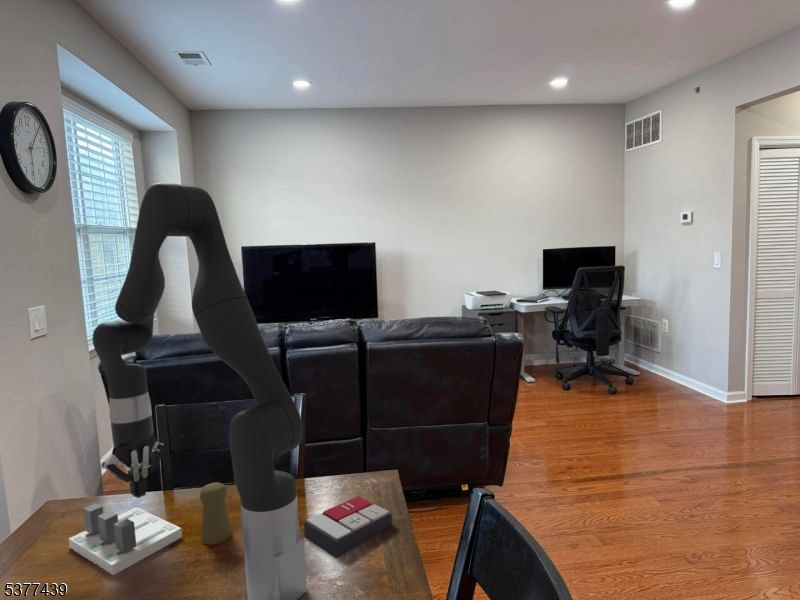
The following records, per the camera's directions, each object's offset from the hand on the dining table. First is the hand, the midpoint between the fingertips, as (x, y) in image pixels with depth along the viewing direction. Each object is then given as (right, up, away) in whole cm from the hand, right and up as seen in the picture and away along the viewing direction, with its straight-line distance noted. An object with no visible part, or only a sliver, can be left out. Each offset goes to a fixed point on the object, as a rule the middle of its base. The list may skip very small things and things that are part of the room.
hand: (139, 495), depth 104 cm
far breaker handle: (-9, -7, -1) cm, 11 cm away
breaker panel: (-2, -9, -2) cm, 9 cm away
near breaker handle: (+1, -7, -8) cm, 11 cm away
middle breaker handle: (-4, -7, -5) cm, 9 cm away
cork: (+16, -8, -1) cm, 18 cm away
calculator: (+44, -8, 0) cm, 45 cm away
